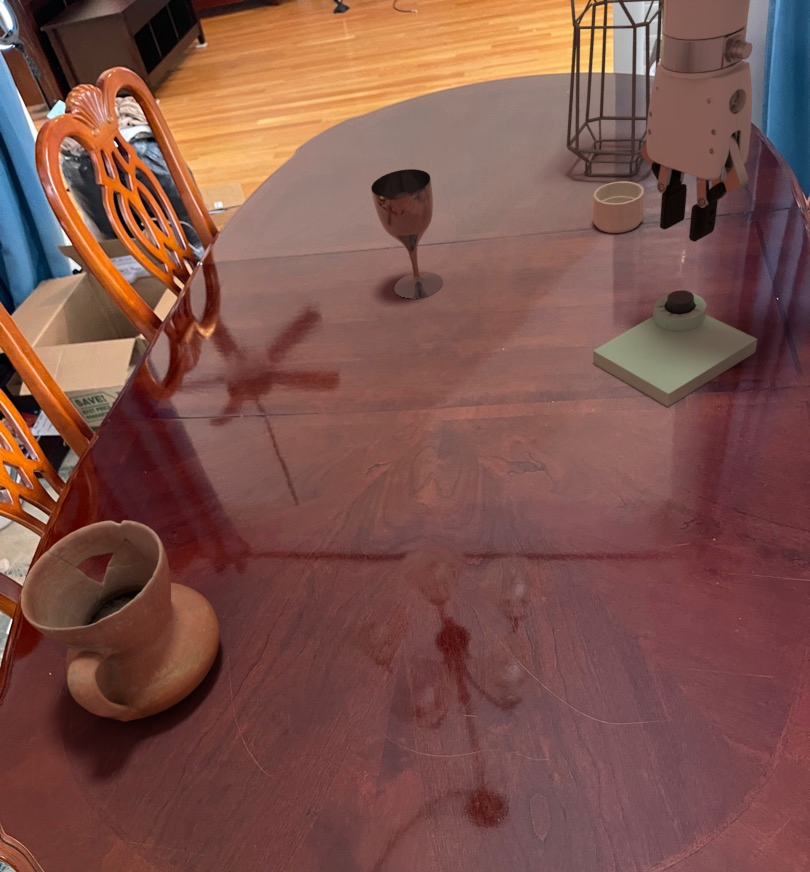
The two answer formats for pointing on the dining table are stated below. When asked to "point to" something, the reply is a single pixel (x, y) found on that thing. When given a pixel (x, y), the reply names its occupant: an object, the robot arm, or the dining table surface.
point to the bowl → (618, 206)
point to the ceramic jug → (122, 621)
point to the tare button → (680, 302)
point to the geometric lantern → (577, 55)
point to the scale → (674, 352)
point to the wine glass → (407, 223)
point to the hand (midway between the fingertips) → (686, 228)
